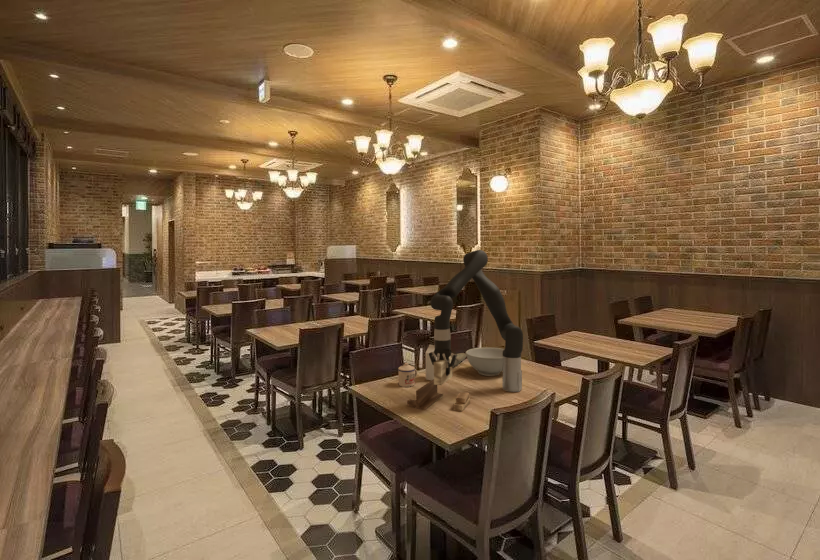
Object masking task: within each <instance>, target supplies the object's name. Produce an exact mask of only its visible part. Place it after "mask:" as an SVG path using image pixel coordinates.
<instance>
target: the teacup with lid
mask: <svg viewBox="0 0 820 560" xmlns="http://www.w3.org/2000/svg"><path fill="white" fill-rule="evenodd" d="M397 371H398V386H399V387H403V388H410V386H411V387H413V385H414V386H415V384H416V377H417V376H418V371H417V369H416V368H415V366H413V365H410V364H409V363H408V362H404V364H403V365H401V366H399V367H398V368H397Z"/></svg>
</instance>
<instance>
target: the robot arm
mask: <svg viewBox="0 0 820 560" xmlns="http://www.w3.org/2000/svg"><path fill="white" fill-rule="evenodd" d="M462 258H463V259H462V260H463V264H464V268H463V269H462V270H460V271H459V272H458V273H457V274H455V275H454V276H453V277H452V278H451V279H450V280H449V281H448V282H447V284H446V285H445V286H444V287H443V288H441V289H440V290H439V291H437V292H436V293H435V294H433V295H432V297H431V299H430V306H431V308H432V309H433V310H436V311H440V314H439V315H436V316H434V333H433V335H434V336H433V337H434V339H433V340H434V341H433V342H434V346H435V350H434V352H430V353H429V356H430V359H431V362H432V364H433V365H434V362H436V361H437V360H444V361H445V363H446V376H448V375H449V374H450V367H452V366H453V365H454V363H455V360H456V358H457V354H458V353H453V352H452V348H451V347H452V344H451V343H452V340H451V338H452V334H451V322H450V319H451V315H452V312H453V307H454V302H453V299H455V298H456V297H458V295H459V294H460V293H461V291H462V290H463V289H464V287H465V286H466V285H467V284H468V283H469V281H471V280H473V282H474V284H475V285H476V287H477V289H478V291H479V292H480V295H481V297H482V299H483V301H484V303H485V305H486V307H487V309H488V310H489V312H490V313H491V315H492V317H493V319H494V321H495V323H496V325H497V329H498V331H499V334H500V336H501V338H502V340H504V342H505V343H504V348H503V349H504V350H503V371H502V385H501V386H502V390H503V391H505V392H509V393H510V392H511V393H515V392H516V393H517V392H518V393H519V392H521V390H522V389H523V370H522V352H523V346H524V333H523V330H522V329H521V327H520V326H519V325H515V324H514V323H513V321H512V320H511V318H510V316H509V313H508V311H507V305H506V302H505V299H504V296H503V295H502V292H501V290H500V288H499V287H498V286H497V285H496V283H494V282H493V281H492V280H491V279H490V278H488V277H487V275H486V274H485V273H484V272H483V270H482V269H483V268H485V267H486V266H487V264H488V261H489V257H488V254H487V253H486V252H485V250H482V249H477V250H473V251H470V252H467V253H465V254H464V256H463V257H462ZM435 355H436V357H437V360H436V359H435V357H434V356H435ZM450 356H451V358H452V360H451V363H450V362H449V361H450V360H449V357H450Z"/></svg>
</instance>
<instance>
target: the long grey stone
mask: <svg viewBox="0 0 820 560" xmlns="http://www.w3.org/2000/svg"><path fill="white" fill-rule="evenodd" d="M456 354H457V358H456V360H455V363H454V365H453V366H452V369H454V368H455V366H456V367H458V366H459V365H460V364H461V363H462V362H463V361H465V360H466V358H467V356H466V352H465V353H464V352H460V353H456ZM461 361H462V362H461ZM459 363H460V364H459Z"/></svg>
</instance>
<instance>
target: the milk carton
mask: <svg viewBox="0 0 820 560" xmlns="http://www.w3.org/2000/svg"><path fill="white" fill-rule="evenodd" d="M434 350H435V346H434V345H433V344H428V347H427V349H426V351H425V354H424V355H425V380H428V381H432V380H433V379H434V365H433V364H432V362H431V359H430V356H429V353H430V352H434ZM434 357H435V359H436V360H437V357H436V355H435V356H434Z"/></svg>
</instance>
